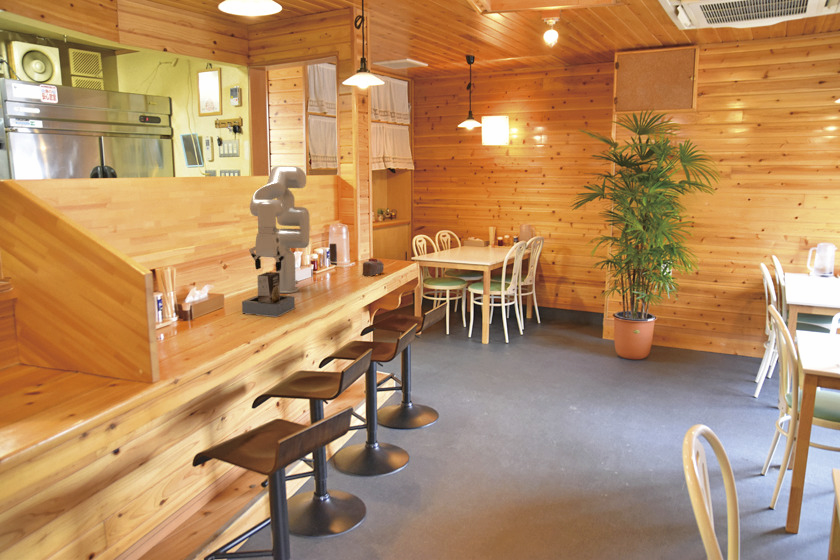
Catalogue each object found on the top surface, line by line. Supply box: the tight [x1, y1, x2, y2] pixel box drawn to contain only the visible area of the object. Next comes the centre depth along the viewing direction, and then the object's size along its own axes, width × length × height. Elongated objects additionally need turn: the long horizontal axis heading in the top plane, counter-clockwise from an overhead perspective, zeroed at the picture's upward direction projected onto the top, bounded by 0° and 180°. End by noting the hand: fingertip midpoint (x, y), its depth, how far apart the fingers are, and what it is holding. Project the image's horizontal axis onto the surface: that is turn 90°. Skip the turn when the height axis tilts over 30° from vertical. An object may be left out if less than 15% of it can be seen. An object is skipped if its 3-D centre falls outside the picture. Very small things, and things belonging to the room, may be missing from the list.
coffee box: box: [257, 272, 281, 303], centre depth 256 cm, size 9×6×16 cm
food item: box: [362, 258, 384, 277], centre depth 345 cm, size 14×8×10 cm, turn 154°
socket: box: [241, 294, 296, 318], centre depth 257 cm, size 16×16×5 cm
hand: (268, 269), depth 255 cm, fingers open, 9 cm apart
